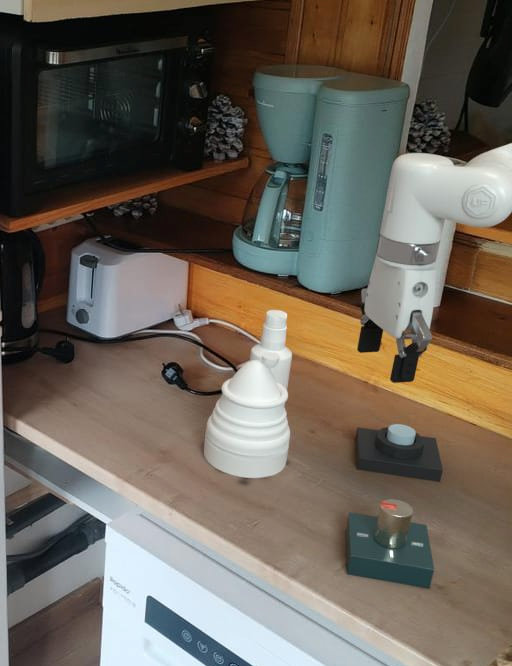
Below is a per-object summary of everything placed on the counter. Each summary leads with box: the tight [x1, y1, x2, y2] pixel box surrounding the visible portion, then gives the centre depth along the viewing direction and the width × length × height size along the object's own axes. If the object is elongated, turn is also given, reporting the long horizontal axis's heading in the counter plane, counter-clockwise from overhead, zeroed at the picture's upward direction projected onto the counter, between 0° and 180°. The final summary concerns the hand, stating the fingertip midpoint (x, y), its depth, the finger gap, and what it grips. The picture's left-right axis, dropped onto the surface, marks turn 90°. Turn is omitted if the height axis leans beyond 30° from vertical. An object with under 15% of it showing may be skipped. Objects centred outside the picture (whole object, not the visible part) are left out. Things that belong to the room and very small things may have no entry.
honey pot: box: [203, 352, 292, 479], centre depth 139 cm, size 13×13×18 cm
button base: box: [354, 426, 444, 483], centre depth 142 cm, size 12×10×4 cm
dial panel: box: [345, 512, 435, 589], centre depth 119 cm, size 10×10×3 cm
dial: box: [374, 498, 414, 548], centre depth 118 cm, size 4×4×5 cm
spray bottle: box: [249, 309, 293, 408], centre depth 154 cm, size 7×7×18 cm
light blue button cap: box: [387, 423, 417, 445], centre depth 141 cm, size 4×4×2 cm
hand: (384, 365), depth 127 cm, fingers open, 9 cm apart
